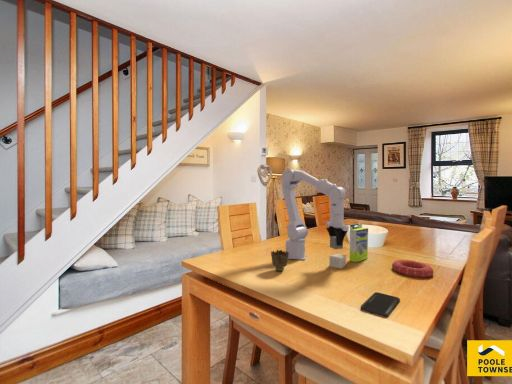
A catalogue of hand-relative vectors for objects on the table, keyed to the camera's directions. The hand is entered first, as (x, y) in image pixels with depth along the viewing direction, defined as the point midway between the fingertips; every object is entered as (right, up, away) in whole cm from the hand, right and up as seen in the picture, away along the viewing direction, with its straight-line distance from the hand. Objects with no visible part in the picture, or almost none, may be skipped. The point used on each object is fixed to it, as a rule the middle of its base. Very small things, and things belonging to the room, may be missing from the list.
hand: (336, 244), depth 124 cm
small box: (+1, -10, +1) cm, 10 cm away
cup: (-26, -10, -5) cm, 28 cm away
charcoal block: (0, -2, 0) cm, 2 cm away
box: (+14, -10, +11) cm, 20 cm away
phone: (+3, -12, -38) cm, 40 cm away
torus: (+30, -11, -7) cm, 32 cm away
